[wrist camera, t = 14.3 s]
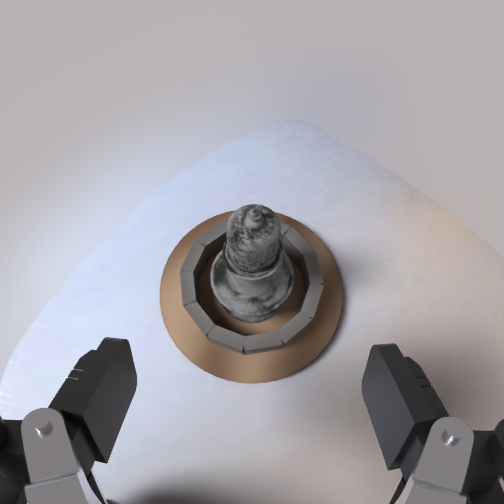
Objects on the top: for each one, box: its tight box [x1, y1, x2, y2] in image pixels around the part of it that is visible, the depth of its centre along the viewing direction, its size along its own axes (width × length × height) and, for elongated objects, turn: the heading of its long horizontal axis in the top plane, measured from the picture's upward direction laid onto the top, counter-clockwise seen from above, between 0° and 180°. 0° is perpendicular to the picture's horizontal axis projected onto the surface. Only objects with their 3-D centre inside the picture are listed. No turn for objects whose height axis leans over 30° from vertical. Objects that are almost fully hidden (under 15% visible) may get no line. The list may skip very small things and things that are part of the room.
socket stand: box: [160, 210, 343, 383], centre depth 26 cm, size 15×15×4 cm
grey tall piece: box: [210, 204, 294, 323], centre depth 21 cm, size 6×6×12 cm
